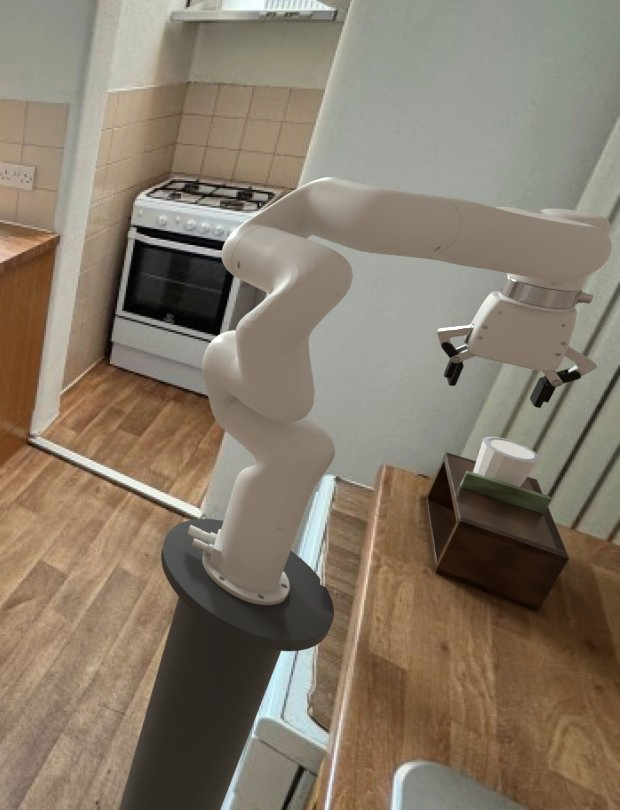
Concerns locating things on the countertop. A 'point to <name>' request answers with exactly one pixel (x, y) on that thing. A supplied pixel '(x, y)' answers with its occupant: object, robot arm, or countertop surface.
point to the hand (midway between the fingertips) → (491, 392)
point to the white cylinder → (505, 460)
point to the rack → (493, 533)
